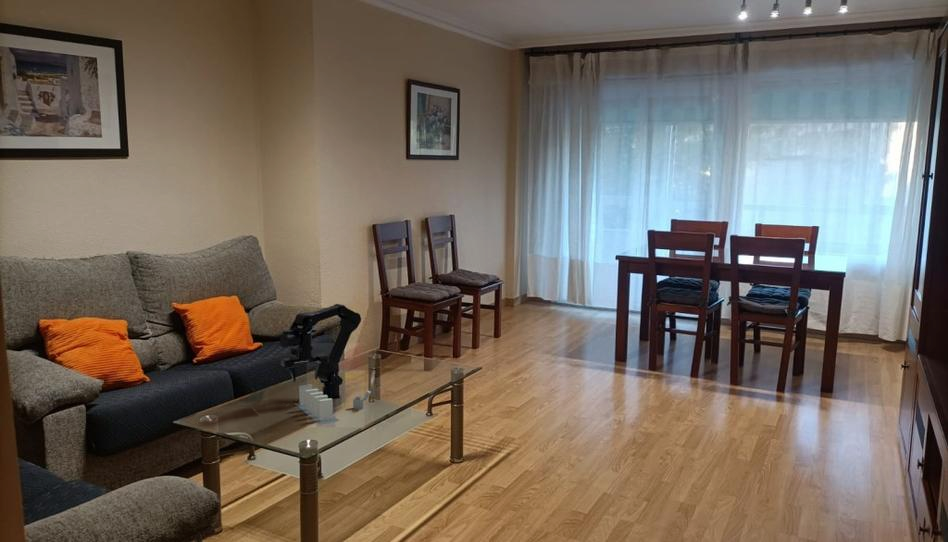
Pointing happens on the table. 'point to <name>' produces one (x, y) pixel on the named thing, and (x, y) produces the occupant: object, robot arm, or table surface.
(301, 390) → the tile
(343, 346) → the robot arm
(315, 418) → the runner
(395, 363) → the table surface
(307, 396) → the tile
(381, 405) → the table surface
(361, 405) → the lighter
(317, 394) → the tile
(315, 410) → the tile
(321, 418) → the tile
